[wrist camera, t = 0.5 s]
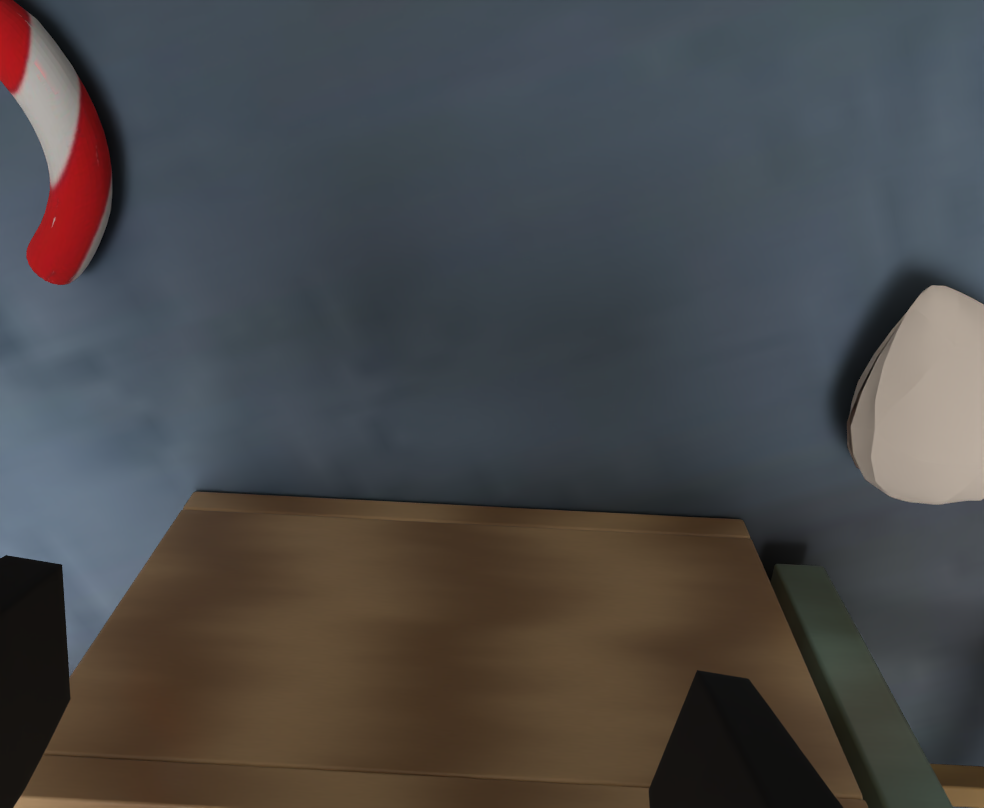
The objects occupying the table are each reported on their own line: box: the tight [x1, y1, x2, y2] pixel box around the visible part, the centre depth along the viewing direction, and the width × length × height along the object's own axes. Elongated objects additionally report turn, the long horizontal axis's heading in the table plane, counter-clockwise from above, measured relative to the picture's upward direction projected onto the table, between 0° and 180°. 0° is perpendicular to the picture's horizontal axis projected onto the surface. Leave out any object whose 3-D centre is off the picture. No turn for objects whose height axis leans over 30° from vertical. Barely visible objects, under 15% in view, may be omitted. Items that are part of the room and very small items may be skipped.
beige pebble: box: [847, 285, 984, 505], centre depth 17 cm, size 4×5×2 cm
